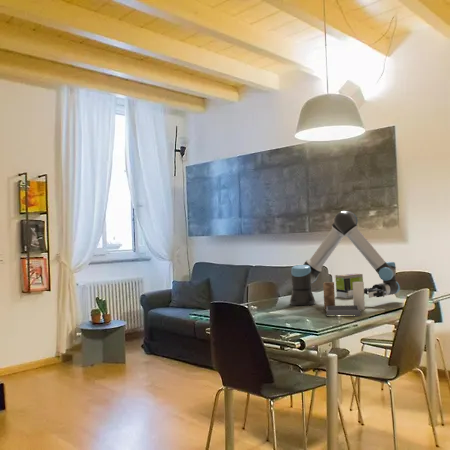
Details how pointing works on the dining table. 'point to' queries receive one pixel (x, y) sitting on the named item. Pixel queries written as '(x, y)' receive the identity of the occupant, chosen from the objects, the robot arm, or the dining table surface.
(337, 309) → the tray
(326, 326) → the dining table surface
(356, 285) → the cream pillar
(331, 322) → the dining table surface
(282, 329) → the dining table surface
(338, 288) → the tea box
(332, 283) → the walnut pillar
